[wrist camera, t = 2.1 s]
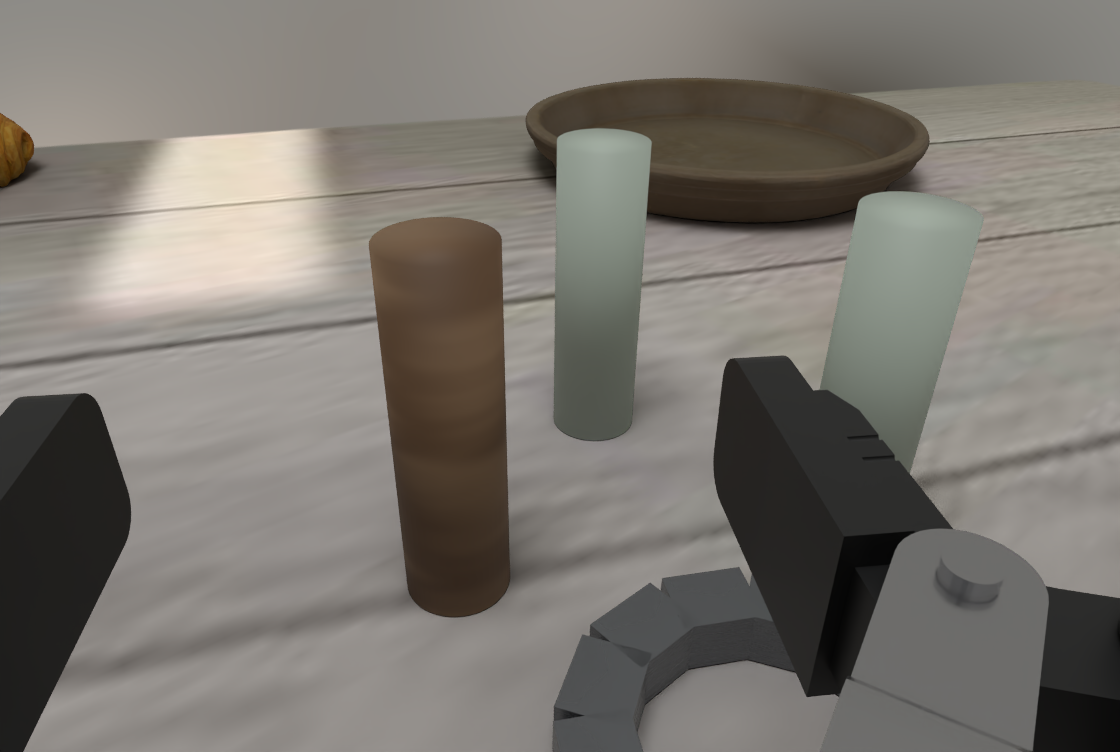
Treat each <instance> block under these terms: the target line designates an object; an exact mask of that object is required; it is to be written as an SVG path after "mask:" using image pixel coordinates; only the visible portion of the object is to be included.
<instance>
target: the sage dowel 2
mask: <svg viewBox="0 0 1120 752" xmlns="http://www.w3.org/2000/svg"><path fill="white" fill-rule="evenodd" d="M983 221H984V219H983V216H982V215H981V213H980V212H978V211H977V210H976V209H974V208H973V207H971V206H969V205H967V204H964V203H962V202H959V201H956V200H953V199H949V198H946V197H941V196H937V195H932V194H926V193H918V192H905V191H889V192H879V193H874V194H870V195H867V196H865V197H863V198H861V199H860V201H859V203H858V207H857V212H856V217H855V222H854V227H853V231H852V236H851V241H850V246H849V251H848V256H847V260H846V265H845V270H844V275H843V280H842V284H841V289H840V294H839V299H838V304H837V309H836V313H835V318H834V323H833V328H832V333H831V337H830V342H829V347H828V352H827V357H826V362H825V366H824V371H823V376H822V381H821V386H820V390H829V391H830V392H832V393H833V394H835V395H837V396H838V397H840V398H841V399H843V400H844V401H846V402H848V403H849V404H851V405H852V406H854V407H855V408H857V409H859V410H860V412H861V413H862V414H863V415H864V417H865V418H866V419H867V420H868V422H869V423H870V424H871V425H872V427H873V428H874V429H875V431H876V432H877V433H878V434H879V440H883V441H884V442H885V443H886V445H887V446H888V447H889V448H890V450H891V451H892V452H893V453H894V455H895V461H897V460H899V461H900V462H901V464H902V465H903V466H904V467H905V469H906V470H907V471H908V472H909V474H910V471H911V467H912V464H913V460H914V457H915V454H916V450H917V447H918V443H919V440H920V437H921V433H922V430H923V426H924V423H925V419H926V416H927V413H928V409H929V406H930V402H931V399H932V395H933V392H934V389H935V385H936V382H937V378H938V375H939V371H940V368H941V365H942V361H943V358H944V354H945V351H946V348H947V344H948V341H949V337H950V334H951V330H952V327H953V324H954V320H955V317H956V313H957V310H958V306H959V303H960V300H961V296H962V293H963V289H964V286H965V283H966V279H967V276H968V272H969V269H970V265H971V262H972V259H973V255H974V252H975V248H976V245H977V241H978V238H979V235H980V231H981V228H982V224H983Z"/></svg>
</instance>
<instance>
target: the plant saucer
mask: <svg viewBox="0 0 1120 752" xmlns="http://www.w3.org/2000/svg"><path fill="white" fill-rule="evenodd" d="M526 127H527V130H528V133H529V135H530V136H531V138H532V139H533V140H534V143H535V146H536V147H537V149H538V150H539V151H540V152H541V153H542V154H543V155H544V156H545V157H546V158H548V159H549V160H551V161H552V163H553V165H554V167H555V168H556V170H557V138H558V137H559V136H560V135H562V134H564V133H567V132H571V131H575V130H581V129H596V128H605V129H619V130H626V131H631V132H635V133H639V134H642V135H644V136H646V137H648V138H649V139H650V140H651V142H652V144H651V158H650V172H649V186H648V201H647V212H648V213H653V214H658V215H665V216H673V217H679V218H686V219H698V220H706V221H719V222H759V223H761V222H784V221H797V220H805V219H812V218H819V217H825V216H829V215H834V214H838V213H842V212H845V211H849V210H852V209H855V208H857V207H858V203H859V201H860V199H861V198H863V197H865V196H867V195H870V194H874V193H879V192H884V191H885V190H886V188H887V187H888V186H889V185H890V183H891V182H893V181H895V180H897V179H899V178H901V177H903V176H904V175H906V174H907V173H908V172H910V171H911V170H912V169H913V168H914V166H915V165H916V163H917V162H918V161H919V160H920V159H921V158H922V157H923V156H924V154H925V153H926V151H927V149H928V146H929V142H930V141H929V134H928V131H927V129H926V128H925V126H924V125H923V124H922V123H921V122H920V121H919V120H918V119H916V118H915V117H913V116H911V115H910V114H908V113H906V112H903V111H901V110H899V109H896V108H894V107H892V106H889V105H886V104H883V103H880V102H877V101H874V100H870V99H867V98H863V97H859V96H855V95H851V94H847V93H842V92H836V91H832V90H827V89H821V88H814V87H808V86H800V85H792V84H783V83H775V82H765V81H753V80H738V79H711V78H670V79H647V80H646V79H645V80H633V81H623V82H615V83H607V84H601V85H594V86H588V87H583V88H579V89H574V90H571V91H566V92H563V93H560V94H557V95H554V96H551V97H548V98H546V99H544V100H542V101H540V102H539V103H537V104H536V105H534V106H533V107H532V108H531V109H530V110H529V112H528V113H527V116H526Z"/></svg>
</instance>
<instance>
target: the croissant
mask: <svg viewBox="0 0 1120 752" xmlns="http://www.w3.org/2000/svg"><path fill="white" fill-rule="evenodd" d="M33 154H34V144H33V141H32V139H31V137H30V135H29V134H28V133H27V132H26V131H25V130H23V129H22V128H21V127H20V126H19V125H17V124H16V123H15V122H14V121H12V120H10V119H9V118H7V117H5V116H4V115H3V114H1V113H0V187H3V186H7V185H8V183H9V182H10V181H11V180H13V179H15V178H17V177H19V175H20V174H22V173H23V172H24V169H25V166H26V165H27V163H28V161H29V160H30V159H31V157H32V156H33Z"/></svg>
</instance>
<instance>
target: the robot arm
mask: <svg viewBox="0 0 1120 752" xmlns="http://www.w3.org/2000/svg"><path fill="white" fill-rule="evenodd" d="M714 478H715V485H716V490H717V494H718V497H719V500H720V502H721V505H722V507H723V509H724V511H725V514H726V516H727V518H728V520H729V523H730V525H731V527H732V529H733V532H734V534H735V536H736V538H737V541H738V543H739V545H740V547H741V550H742V552H743V554H744V556H745V559H746V561H747V563H748V565H749V568H750V570H751V572H752V575H753V577H754V579H755V581H756V584H757V586H758V588H759V590H760V593H761V595H762V597H763V599H764V602H765V604H766V606H767V608H768V611H769V613H770V615H771V617H772V620H773V622H774V624H775V626H776V629H777V631H778V633H779V635H780V638H781V640H782V642H783V644H784V647H785V649H786V651H787V653H788V656H789V658H790V660H791V662H792V665H793V667H794V669H795V671H796V674H797V676H798V678H799V680H800V683H801V685H802V687H803V689H804V692H805V694H806V696H807V697H811V696H821V695H831V694H840V696H839V699H838V702H837V705H836V707H835V710H834V713H833V716H832V719H831V722H830V724H829V727H828V730H827V733H826V736H825V738H824V741H823V744H822V747H821V750H820V752H1120V598H1114V597H1108V596H1102V595H1095V594H1089V593H1082V592H1076V591H1070V590H1063V589H1057V588H1052V587H1047V586H1045V584H1044V582H1043V580H1042V578H1041V577H1040V575H1039V574H1038V573H1037V572H1036V570H1035V569H1034V568H1033V567H1032V566H1031V565H1030V564H1029V563H1028V562H1027V561H1026V560H1024V559H1023V558H1022V557H1020V556H1019V555H1018V554H1016V553H1015V552H1014V551H1012V550H1010V549H1009V548H1007V547H1005V546H1004V545H1002V544H999V543H997V542H995V541H993V540H991V539H988V538H986V537H983V536H980V535H977V534H974V533H970V532H966V531H960V530H954V529H953V528H952V527H951V526H950V524H949V523H948V522H947V521H946V519H945V518H944V517H943V516H942V514H941V513H940V512H939V511H938V509H937V508H936V507H935V505H934V504H933V503H932V502H931V500H930V499H929V498H928V497H927V495H926V494H925V493H924V491H923V490H922V489H921V488H920V486H919V485H918V484H917V483H916V481H915V480H914V479H913V478H912V476H911V475H910V474H909V472H908V471H907V470H906V469H905V467H904V466H903V465H902V464H901V462H900V461H899V460H897V461H895V455H894V453H893V452H892V451H891V450H890V448H889V447H888V446H887V445H886V443H885V442H884V441H883V440H879V434H878V433H877V432H876V431H875V429H874V428H873V427H872V425H871V424H870V423H869V422H868V420H867V419H866V418H865V417H864V415H863V414H862V413H861V412H860V410H859V409H857V408H855V407H854V406H852V405H851V404H849V403H848V402H846V401H844V400H843V399H841V398H840V397H838V396H837V395H835V394H833V393H832V392H830V391H829V390H815V391H813V390H812V388H811V387H810V386H809V384H808V383H807V382H806V380H805V379H804V377H803V376H802V375H801V373H800V372H799V371H798V369H797V368H796V366H795V365H794V364H793V362H792V361H791V360H790V359H789V358H788V357H787V356H768V357H750V358H733V359H730V360H729V361H728V362H727V364H726V366H725V369H724V374H723V381H722V390H721V398H720V406H719V415H718V423H717V431H716V440H715V448H714ZM130 523H131V504H130V498H129V493H128V490H127V487H126V484H125V481H124V478H123V475H122V472H121V469H120V466H119V463H118V460H117V457H116V453H115V450H114V447H113V444H112V441H111V438H110V435H109V432H108V429H107V426H106V423H105V420H104V417H103V414H102V412H101V409H100V407H99V405H98V403H97V401H96V400H95V399H94V398H93V397H92V396H91V395H89V394H86V393H81V394H63V395H45V396H27V397H20V398H17V399H16V400H14V401H13V402H12V403H11V404H10V406H9V407H8V408H7V409H6V410H5V412H4V413H3V414H2V415H1V416H0V752H23V751H24V749H25V747H26V745H27V743H28V741H29V739H30V737H31V735H32V733H33V731H34V728H35V726H36V724H37V722H38V720H39V718H40V716H41V714H42V712H43V710H44V708H45V706H46V704H47V702H48V700H49V698H50V696H51V694H52V692H53V690H54V688H55V686H56V684H57V682H58V680H59V678H60V676H61V674H62V672H63V670H64V667H65V665H66V663H67V661H68V659H69V657H70V655H71V653H72V651H73V649H74V647H75V645H76V643H77V641H78V639H79V637H80V635H81V633H82V631H83V629H84V627H85V625H86V623H87V621H88V619H89V617H90V615H91V613H92V611H93V609H94V607H95V604H96V602H97V600H98V598H99V596H100V594H101V592H102V590H103V588H104V586H105V584H106V582H107V580H108V578H109V576H110V574H111V572H112V570H113V568H114V566H115V564H116V562H117V560H118V558H119V556H120V554H121V552H122V550H123V548H124V546H125V543H126V541H127V538H128V535H129V530H130Z"/></svg>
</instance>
